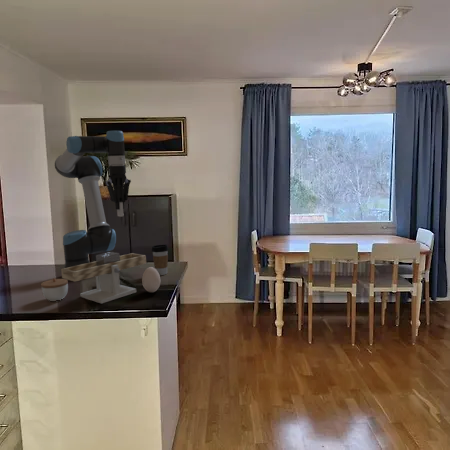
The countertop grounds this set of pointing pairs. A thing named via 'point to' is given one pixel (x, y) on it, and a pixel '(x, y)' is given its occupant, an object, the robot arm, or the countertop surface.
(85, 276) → the beam
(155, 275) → the egg
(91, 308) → the countertop surface
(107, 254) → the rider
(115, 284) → the stand
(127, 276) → the countertop surface
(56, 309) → the countertop surface
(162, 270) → the coffee cup
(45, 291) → the lidded jar
